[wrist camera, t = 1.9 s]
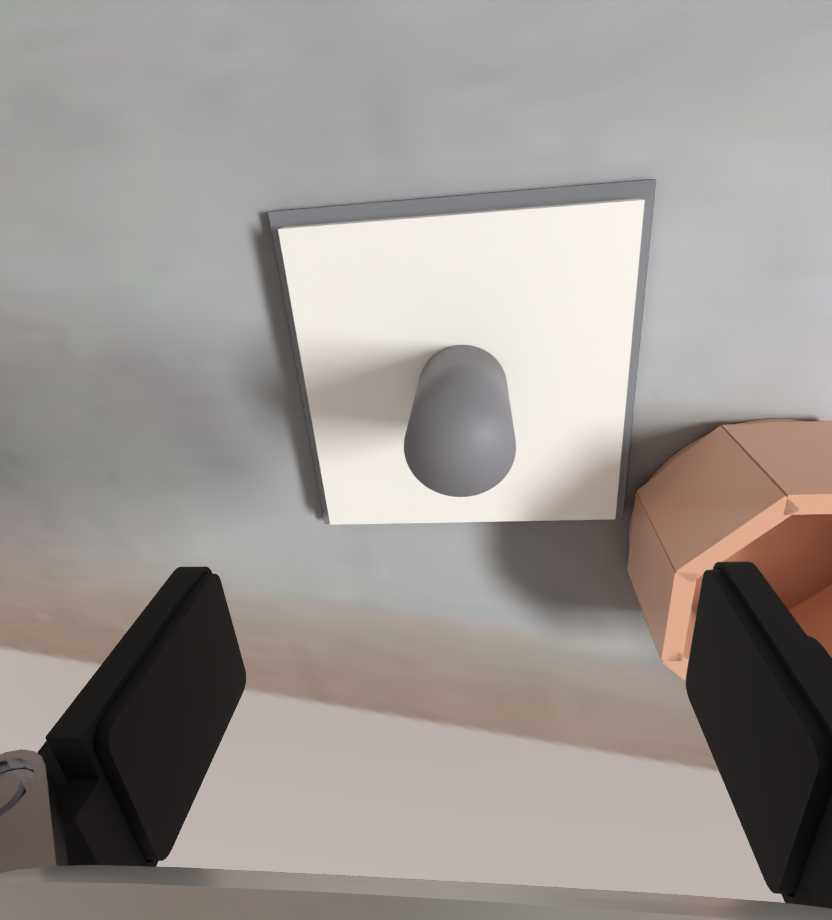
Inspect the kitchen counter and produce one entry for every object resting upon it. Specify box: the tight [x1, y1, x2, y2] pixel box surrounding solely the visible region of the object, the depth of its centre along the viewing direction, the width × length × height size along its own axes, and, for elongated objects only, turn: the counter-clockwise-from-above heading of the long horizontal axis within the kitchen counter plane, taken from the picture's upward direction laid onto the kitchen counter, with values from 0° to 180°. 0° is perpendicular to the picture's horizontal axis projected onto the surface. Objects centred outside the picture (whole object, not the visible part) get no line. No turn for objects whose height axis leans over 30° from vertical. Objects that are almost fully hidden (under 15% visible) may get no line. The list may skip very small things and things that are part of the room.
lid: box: [278, 198, 645, 525], centre depth 19 cm, size 12×12×6 cm
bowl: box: [627, 418, 832, 681], centre depth 21 cm, size 10×10×6 cm
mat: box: [268, 179, 656, 524], centre depth 22 cm, size 13×13×1 cm
